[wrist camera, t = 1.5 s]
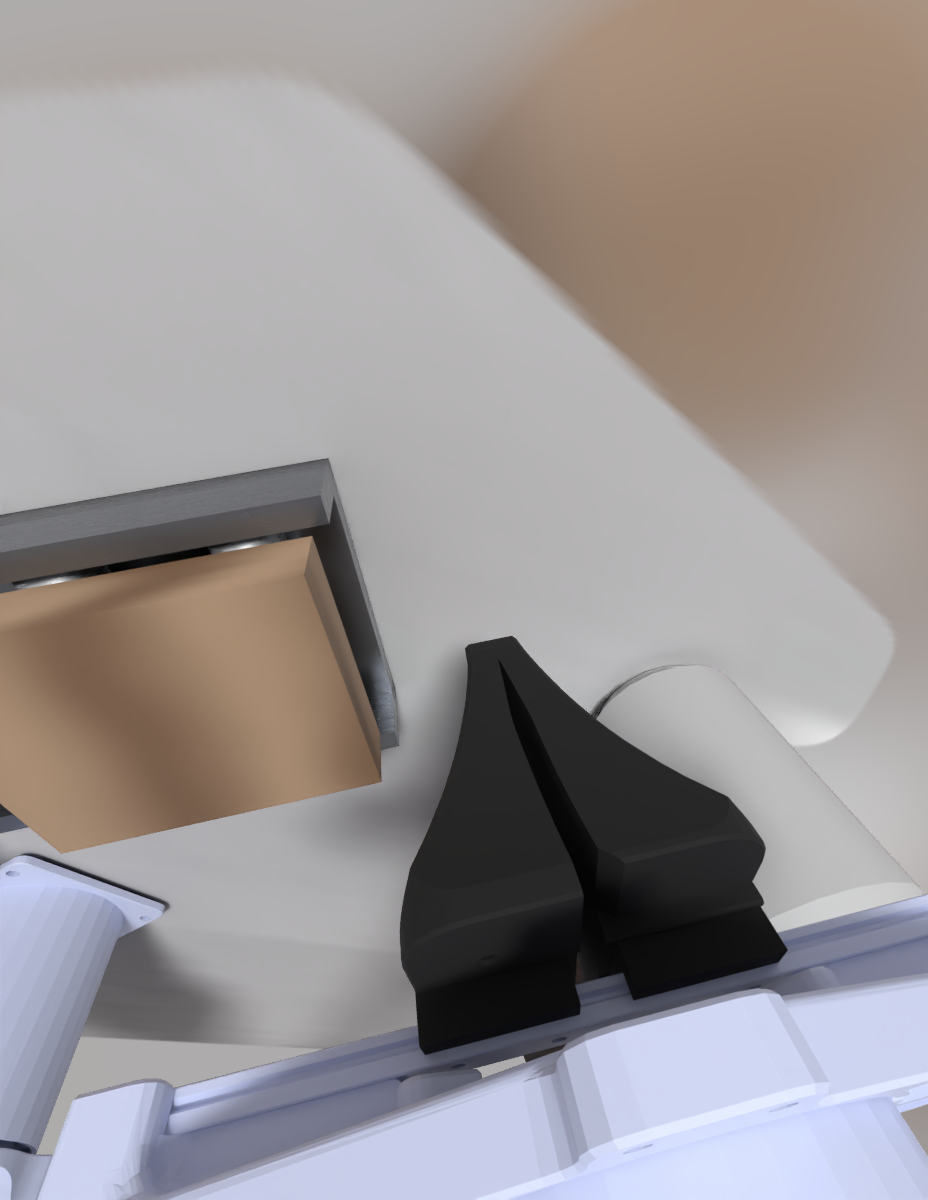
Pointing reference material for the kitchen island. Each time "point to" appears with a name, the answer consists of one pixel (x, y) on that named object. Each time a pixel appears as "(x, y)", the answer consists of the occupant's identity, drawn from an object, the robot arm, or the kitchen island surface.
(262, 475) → the roller bed
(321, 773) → the tan flat block
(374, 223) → the kitchen island surface
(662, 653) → the kitchen island surface
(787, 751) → the can
